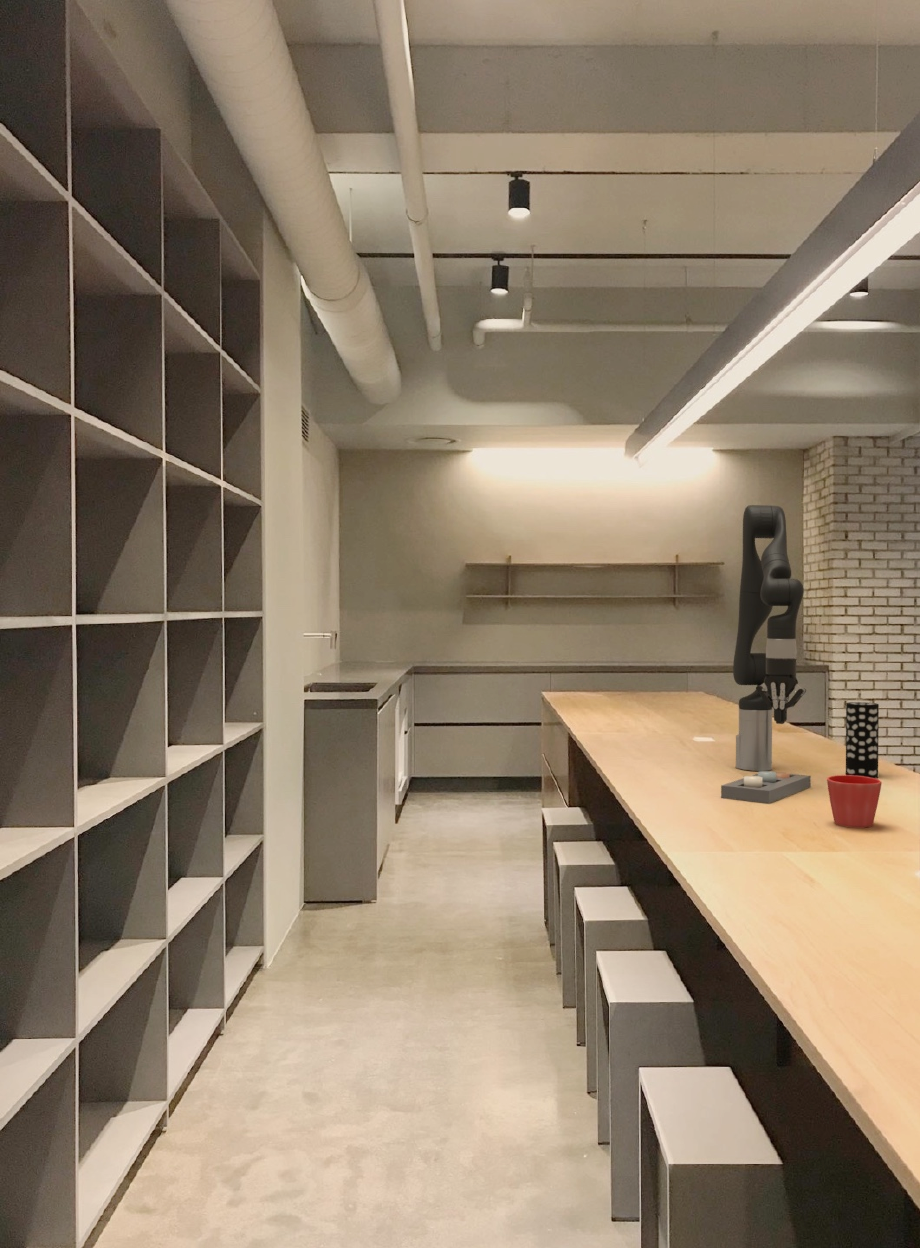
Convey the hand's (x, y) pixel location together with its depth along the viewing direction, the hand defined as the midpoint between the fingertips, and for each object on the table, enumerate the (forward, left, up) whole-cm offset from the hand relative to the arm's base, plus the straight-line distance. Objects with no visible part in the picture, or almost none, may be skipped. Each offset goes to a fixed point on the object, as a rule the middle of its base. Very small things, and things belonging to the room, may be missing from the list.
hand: (780, 723), depth 264 cm
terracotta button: (0, 0, -16) cm, 16 cm away
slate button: (0, -9, -15) cm, 17 cm away
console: (0, -9, -17) cm, 19 cm away
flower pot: (+29, -34, -17) cm, 48 cm away
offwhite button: (0, -18, -14) cm, 23 cm away
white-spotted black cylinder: (+11, +31, -17) cm, 37 cm away
